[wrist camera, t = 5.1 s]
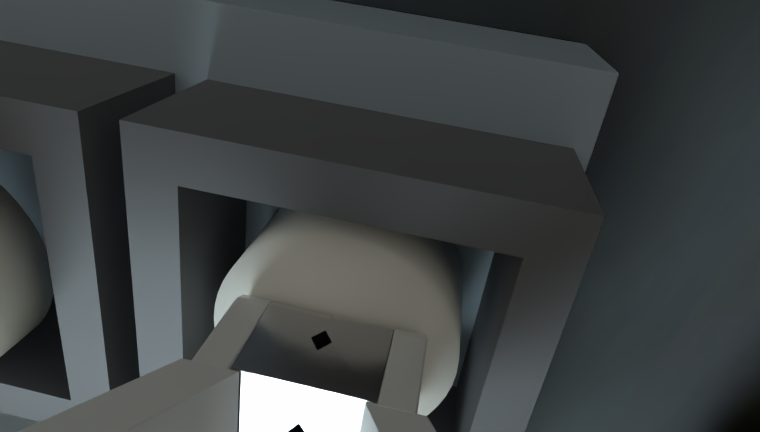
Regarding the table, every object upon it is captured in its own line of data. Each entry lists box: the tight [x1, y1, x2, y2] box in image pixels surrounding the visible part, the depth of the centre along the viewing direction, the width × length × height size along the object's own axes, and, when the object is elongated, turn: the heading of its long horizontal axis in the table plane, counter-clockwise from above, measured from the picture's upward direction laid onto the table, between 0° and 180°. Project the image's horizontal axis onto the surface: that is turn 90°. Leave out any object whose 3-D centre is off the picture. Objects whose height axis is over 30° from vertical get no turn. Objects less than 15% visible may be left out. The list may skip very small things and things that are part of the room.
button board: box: [0, 0, 619, 432], centre depth 13 cm, size 21×14×6 cm, turn 82°
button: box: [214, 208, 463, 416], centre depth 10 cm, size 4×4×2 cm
